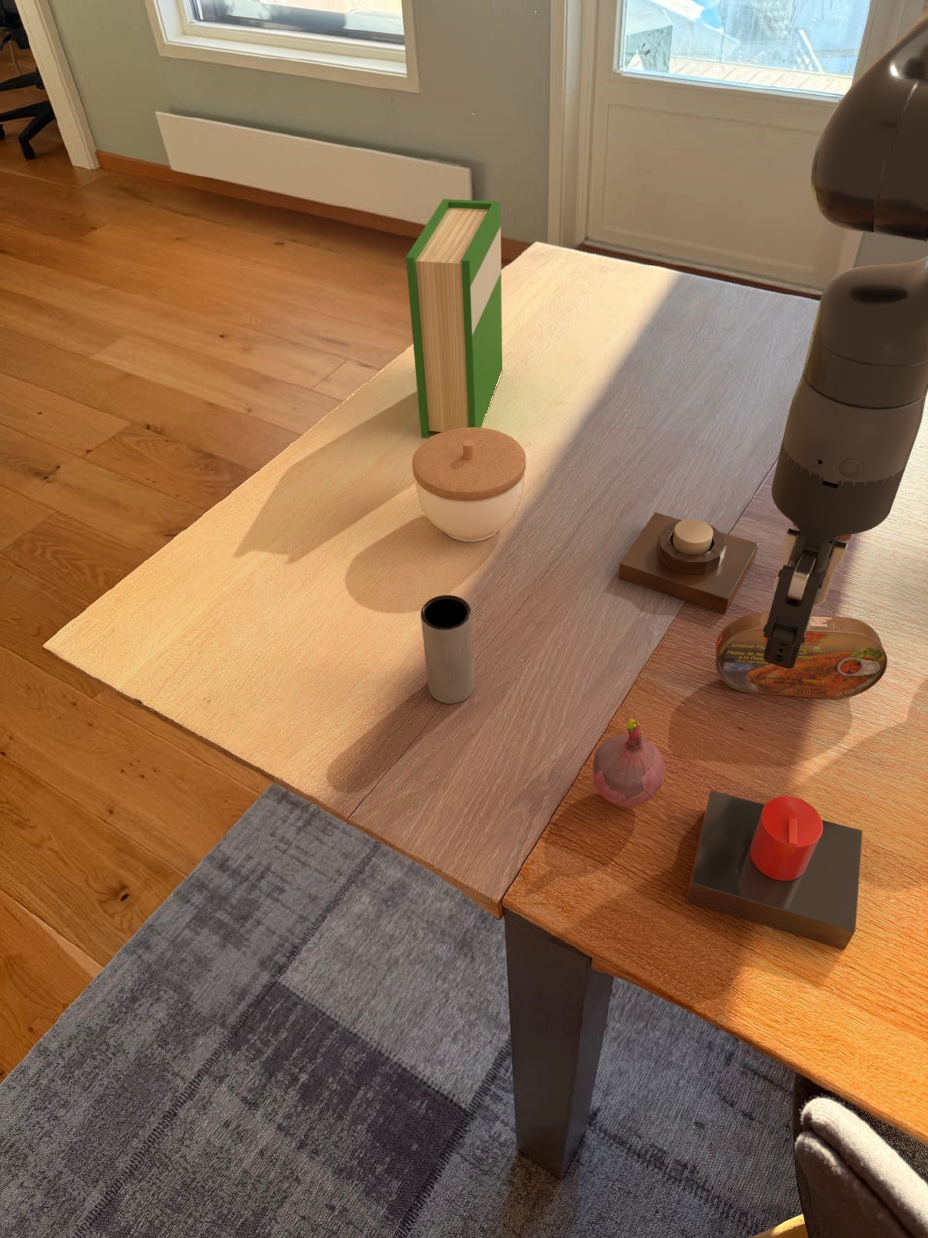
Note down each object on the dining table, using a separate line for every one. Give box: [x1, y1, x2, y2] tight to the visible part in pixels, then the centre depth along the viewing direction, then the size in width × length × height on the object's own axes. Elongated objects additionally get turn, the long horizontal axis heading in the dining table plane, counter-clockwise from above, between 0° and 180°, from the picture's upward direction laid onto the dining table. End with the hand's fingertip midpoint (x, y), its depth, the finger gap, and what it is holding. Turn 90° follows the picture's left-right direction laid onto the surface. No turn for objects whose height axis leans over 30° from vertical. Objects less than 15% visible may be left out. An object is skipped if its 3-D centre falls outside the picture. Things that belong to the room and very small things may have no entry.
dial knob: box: [750, 795, 823, 881], centre depth 69 cm, size 4×4×5 cm
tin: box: [715, 612, 888, 700], centre depth 84 cm, size 15×3×8 cm, turn 82°
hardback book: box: [405, 198, 503, 438], centre depth 117 cm, size 18×7×24 cm, turn 167°
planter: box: [420, 594, 475, 705], centre depth 85 cm, size 4×4×10 cm
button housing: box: [617, 512, 759, 615], centre depth 98 cm, size 12×10×4 cm
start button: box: [673, 518, 713, 555], centre depth 96 cm, size 4×4×2 cm
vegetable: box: [592, 718, 666, 808], centre depth 75 cm, size 6×6×10 cm
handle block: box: [685, 789, 864, 951], centre depth 72 cm, size 12×9×3 cm
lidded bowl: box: [411, 427, 527, 543], centre depth 103 cm, size 13×13×11 cm
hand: (793, 624), depth 68 cm, fingers open, 8 cm apart
